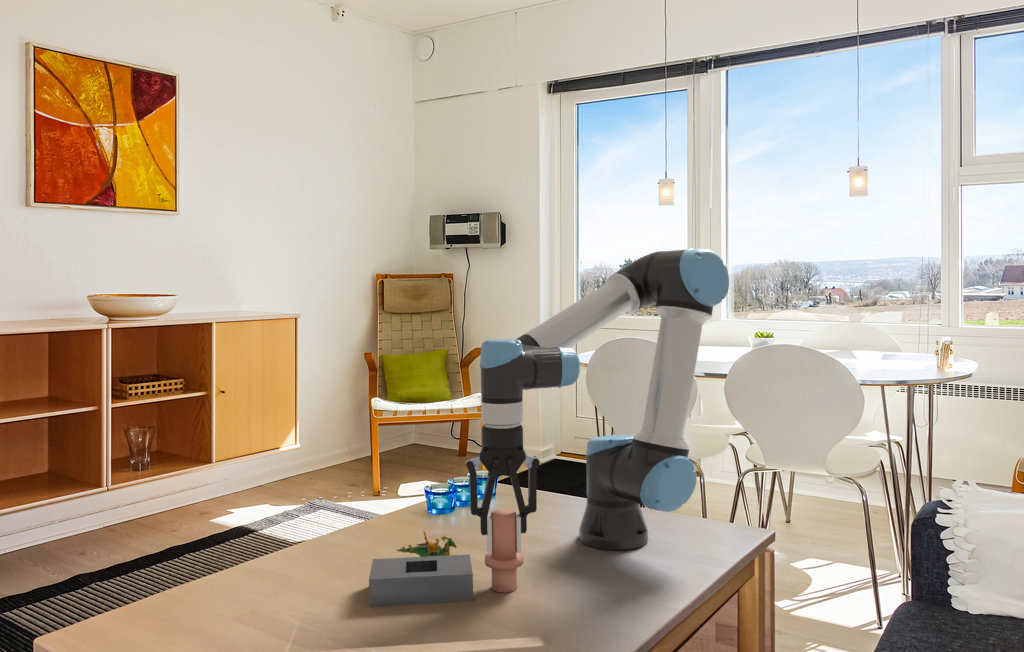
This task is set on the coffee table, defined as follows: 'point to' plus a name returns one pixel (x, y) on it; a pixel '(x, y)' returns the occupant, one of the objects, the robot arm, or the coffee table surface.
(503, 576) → the flanged shaft
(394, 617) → the coffee table surface
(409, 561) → the housing
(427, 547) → the figurine
